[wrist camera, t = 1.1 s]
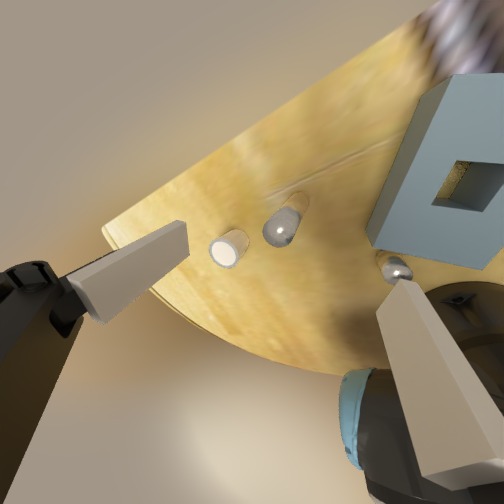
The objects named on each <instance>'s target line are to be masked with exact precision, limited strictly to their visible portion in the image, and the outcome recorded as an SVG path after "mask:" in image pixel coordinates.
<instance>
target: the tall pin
mask: <svg viewBox="0 0 504 504" xmlns="http://www.w3.org/2000/svg"><path fill="white" fill-rule="evenodd" d="M308 205H309V198H308V196H307V194H305V193H304V192H296V193H294V194H293V195H292V196H291V197H290V198H289V199H288V200H287V201H286V202H285V203H284V204H283V205H282V206H281V207H280V208H279V209H278V210H277V211H276V212H275V214H274V215H273V216H272V217H271V218H270V219H269V220H268V221H267V222H266V223H265V224H264V227H263V236H264V238H265V240H266V241H267V242H268V243H269V244H270V245H272V246H274V247H284V246H287V245H288V244H289V243H290V242H291V241H292V239H293V237H294V235H295V233H296V230H297V228H298V226H299V224H300V222H301V220H302V218H303V215H304V213H305V211H306V209H307V207H308Z"/></svg>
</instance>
